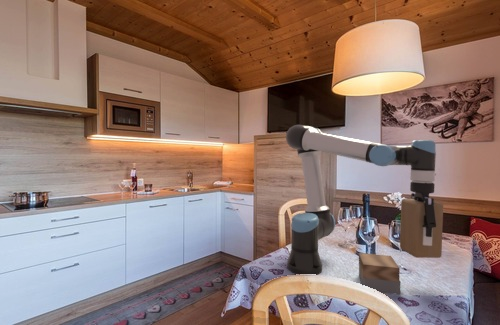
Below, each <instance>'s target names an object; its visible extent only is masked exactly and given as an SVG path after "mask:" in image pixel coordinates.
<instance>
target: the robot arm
mask: <svg viewBox="0 0 500 325" xmlns="http://www.w3.org/2000/svg"><path fill="white" fill-rule="evenodd" d="M285 141H286V143H287V144H288V146H289V147H290V148H292V149H294V150H297V151H296V152H297V156H298V157H299V158H300V159H301V163H302V171H303V172H302V173H303V178H304V179H303V180H304V187H305V188H304V189H305V190H304V191H305V195H306V196H305V198H306V203H307V206H306V208H305V209H304V212H301V213H296V214H295V215H293V216H292V218H291V223H290V228H291V232H290V234H291V235H290V236H291V237H290V240H291V241H290V245H291V249H290V253H289V255H288V257H287V258H288V259H287V261H286V264H287V266H286V267H287V269H288V270H289V271H290V272H292V273H294V274H297V275H300V274H316V275H318V274H320V273H322V271H323V263H322V258H321V257H320V254H319V240H322V239H323V238H327V237H329V236H330V235H331V234H332V233H333V231H335V228H336V220H335V217H334V215H333V214H332V213H331V211H330V210H331V209H330V207H329V206H328V205H326V204H327V203H326V197H325V189H324V188H325V187H324V183H323V182H324V181H323V175H322V174H323V173H322V168H321V167H322V166H321V161H320V155H321V154H322V153H327V154H330V155H335V156H340V157H344V158H348V159H353V160H357V161H360V162H361V161H362V162H366V163H368V164H369V163H370V164H374V165H375V166H379V167H387V166H410V177H409V178H410V181H411V182H410V188H409V189H410V192H412V193H411V194H410V195H411V197H410V199H414V200H417V201H419V202H424V204H425V214H426V215H425V216H424V225H423V226H422V227H423V245H428V246H432V230H433V227H436V220H435V212H434V201H435V198H433V197H431V198H430V194H434V193H435V183H434V182H435V176H436V175H437V173H436V156H437V151H436V141H434V140H431V139H428V140H427V139H424V140H423V139H421V140H418V139H417V140H412V141H411V144H410V145H389V144H383V143H378V142H371V141H366V140H361V139H356V138H350V137H345V136H340V135H333V134H329V133H328V134H327V133H323V132H322V131H321V129H319V128H318V127H315V126H311V125H310V126H309V125H303V124H296V125H295V124H294V125H293V126H291V127H289V129H288V130H287V131H286V134H285ZM428 204H429V205H428Z"/></svg>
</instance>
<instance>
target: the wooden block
mask: <svg viewBox="0 0 500 325" xmlns="http://www.w3.org/2000/svg"><path fill="white" fill-rule="evenodd" d="M428 205H429V204H428ZM400 210H401V211H400V231H399V233H400V234H399V235H400V236H399V238H400V239H399V247H400V249H401V250H403V251H404V252H406V253H407V254H409V255H411V256H412V257H414V258H416V259H417V258H419V259H420V258H421V259H422V258H423V259H425V258H427V259H429V258H431V259H436V258H437V259H439V258H441V257H442V252H443V251H442V250H443V249H442V248H443V225H444V224H443V223H444V222H443V221H444V219H443V218H444V204H443V203H441V202H438V201H435V200H434V212H435V220H436V227H433V230H432V246H428V245H423V227H422V226H423V225H424V216H425V215H426V214H425V204H424V202H419V201H417V200H414V199H411V198H403V199H401V203H400Z"/></svg>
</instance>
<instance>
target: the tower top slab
mask: <svg viewBox="0 0 500 325" xmlns="http://www.w3.org/2000/svg"><path fill="white" fill-rule="evenodd" d="M359 267H360V270H361V273H362V276H363V278H370V279H379V280H388V281H396V282H399V280H400V270H401V269H400V267H399V265H398V264H397V262H396V261H395V259H394V258H393V257H392V255H386V254H385V255H384V254H377V253H376V254H375V253H365V252H364V253H363V252H358V268H359Z"/></svg>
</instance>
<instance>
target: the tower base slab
mask: <svg viewBox="0 0 500 325" xmlns="http://www.w3.org/2000/svg"><path fill="white" fill-rule="evenodd" d="M358 278H359V280H360V282H362V283H361V285H362V284H363V285H365V286H368V287H370V288H373V289H376V290H377V291H380V292H379V293H385V294H393V293H396V294H395V295H401V280H400V279H399V282H396V281H388V280H379V279H370V278H363V276H362V273H361V270H360V267H359V266H358ZM363 285H362V286H363Z"/></svg>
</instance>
